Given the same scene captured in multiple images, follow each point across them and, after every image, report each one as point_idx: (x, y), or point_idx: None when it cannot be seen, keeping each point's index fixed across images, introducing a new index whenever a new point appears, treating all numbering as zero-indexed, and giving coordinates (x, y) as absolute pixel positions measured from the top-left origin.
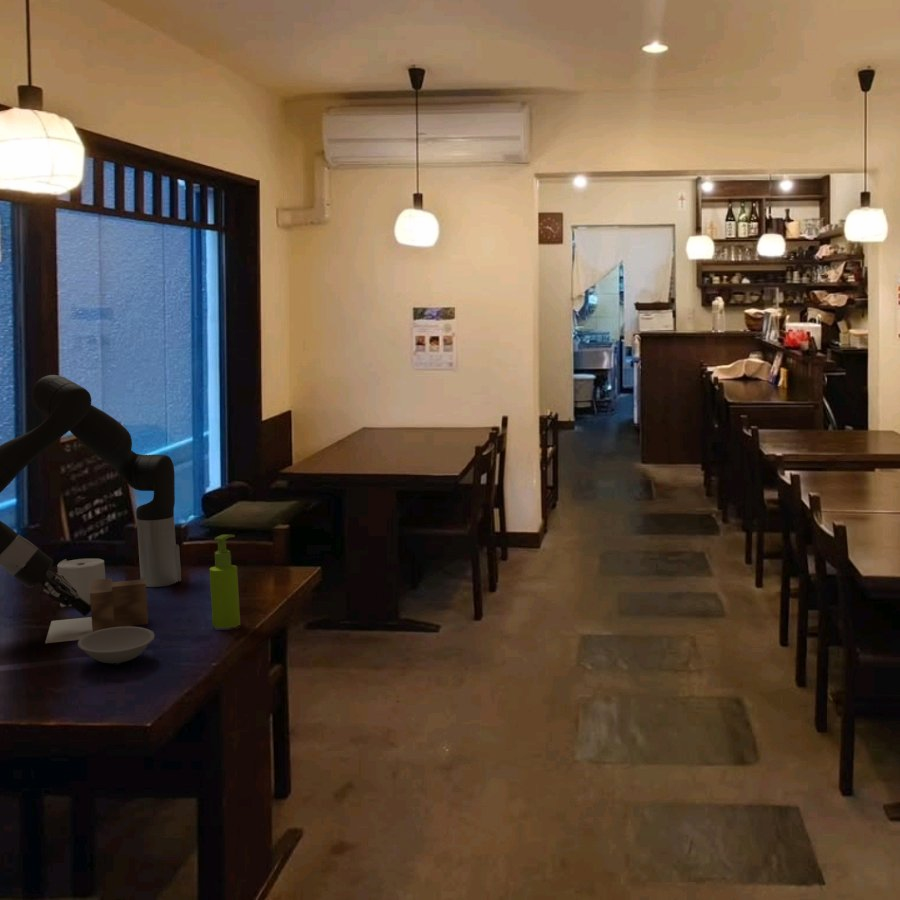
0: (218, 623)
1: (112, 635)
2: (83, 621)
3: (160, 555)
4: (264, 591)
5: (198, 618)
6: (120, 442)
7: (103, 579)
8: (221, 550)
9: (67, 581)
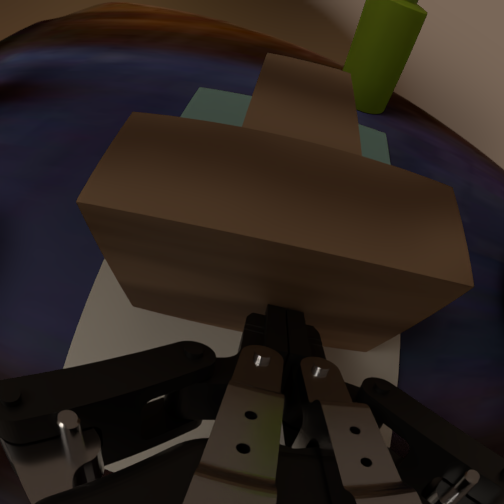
0: (385, 102)
1: None
2: (131, 345)
3: None
4: (159, 25)
5: None
6: None
7: (126, 142)
8: None
9: (65, 372)
